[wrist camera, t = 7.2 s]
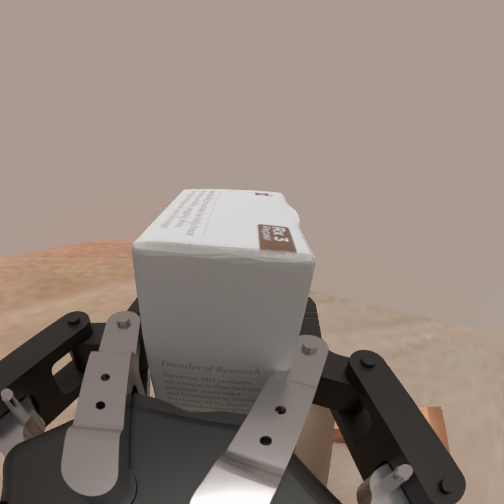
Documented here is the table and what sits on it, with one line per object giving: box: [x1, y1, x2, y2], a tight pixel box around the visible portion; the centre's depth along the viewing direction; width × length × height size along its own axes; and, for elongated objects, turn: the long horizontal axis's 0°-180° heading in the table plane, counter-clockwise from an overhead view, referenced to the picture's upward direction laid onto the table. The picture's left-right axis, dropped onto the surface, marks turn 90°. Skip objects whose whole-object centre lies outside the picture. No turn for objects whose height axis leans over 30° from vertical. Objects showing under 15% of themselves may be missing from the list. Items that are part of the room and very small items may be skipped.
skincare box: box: [132, 189, 315, 414], centre depth 11 cm, size 6×4×12 cm
